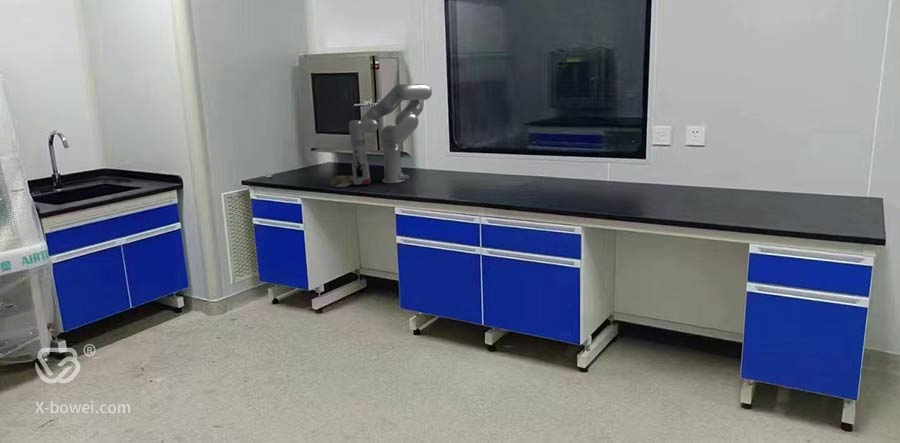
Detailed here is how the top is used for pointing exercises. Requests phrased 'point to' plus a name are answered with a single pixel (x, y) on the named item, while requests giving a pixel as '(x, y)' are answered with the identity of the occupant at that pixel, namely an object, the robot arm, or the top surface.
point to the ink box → (366, 174)
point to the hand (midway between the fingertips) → (361, 175)
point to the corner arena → (341, 180)
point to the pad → (343, 184)
